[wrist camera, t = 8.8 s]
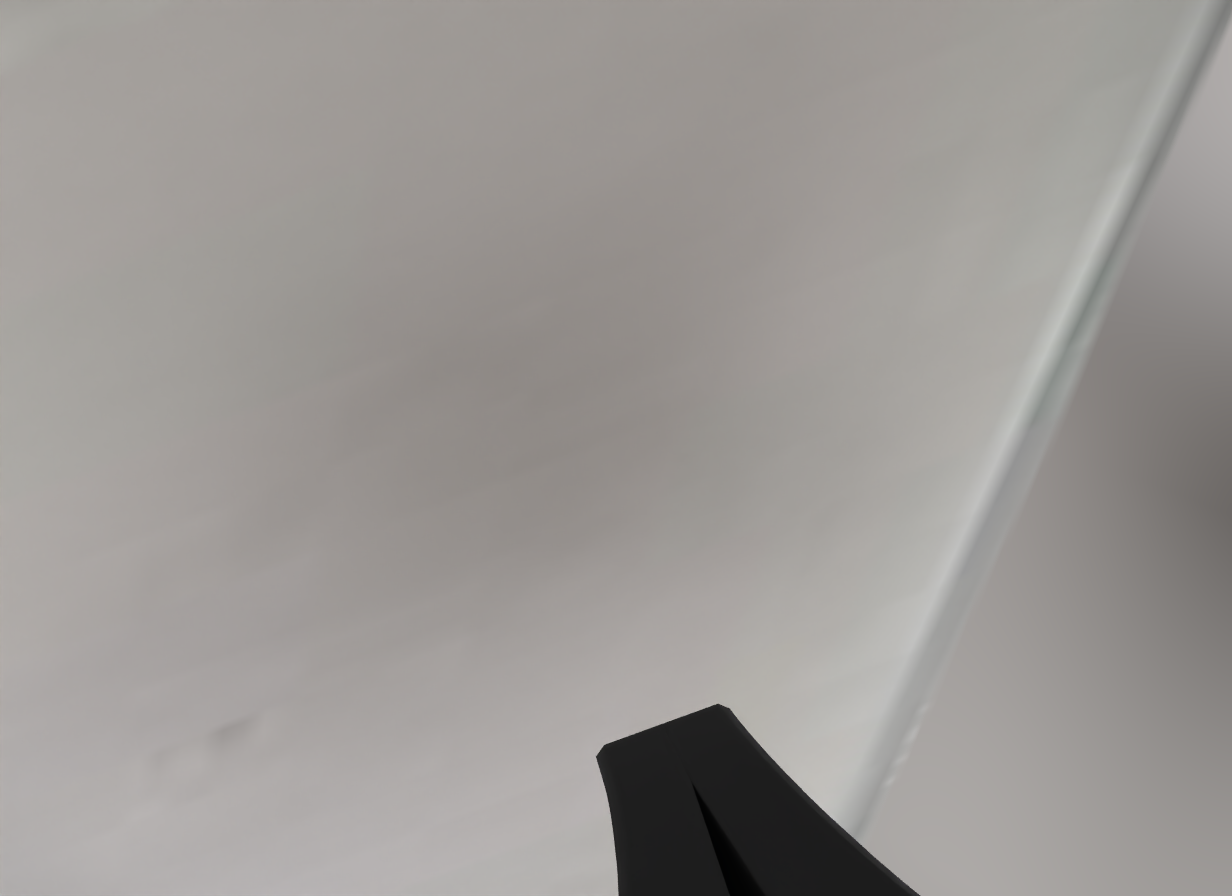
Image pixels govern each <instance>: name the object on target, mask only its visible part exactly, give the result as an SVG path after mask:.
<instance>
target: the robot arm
mask: <svg viewBox="0 0 1232 896" xmlns="http://www.w3.org/2000/svg"><path fill="white" fill-rule="evenodd" d="M596 758H597V762H598V765H599V768H600V772H601V775H602V778H603V782H604V785H605V788H606V793H607V797H608V802H609V807H610V813H611V819H612V826H613V833H614V843H615V852H616V861H617V871H618V891H619V896H920V895H919V894H917V893H916V892H915V891H914V890H913V889H911V888H910V887H909V886H908V885H906V884H905V883H904V882H903V881H902V880H900V879H899V878H898V877H897V876H896V875H894V874H893V873H892V872H891V871H890V870H889V869H888V868H886V867H885V866H884V865H883V864H881V863H880V862H879V861H878V860H877V859H876V858H874V857H873V856H872V855H871V854H870V853H869V852H868V851H867V850H866V849H865V848H864V847H863V846H862V845H860V844H859V843H858V842H857V841H856V840H855V839H854V838H853V837H852V836H851V835H849V834H848V833H847V832H846V831H845V830H844V829H843V828H842V827H841V826H840V825H838V824H837V823H836V822H835V821H834V820H833V819H832V818H831V817H830V816H829V815H828V814H826V813H825V812H824V811H823V810H822V809H821V808H820V807H819V806H818V805H817V804H816V803H815V802H814V801H813V800H812V799H811V798H810V797H809V796H808V795H807V794H806V793H805V792H804V791H803V790H802V789H801V788H800V787H799V786H798V785H797V784H796V783H795V782H794V781H793V780H792V779H791V778H790V777H789V776H788V775H787V774H786V773H785V772H784V771H783V770H782V769H781V768H780V767H779V765H778V764H777V763H776V762H775V761H774V760H773V759H772V758H771V757H770V756H769V755H768V754H767V753H766V751H765V750H764V749H763V748H762V747H761V746H760V745H759V744H758V742H757V741H756V740H755V739H754V738H753V737H752V736H751V734H750V733H749V732H748V731H747V730H746V728H745V727H744V726H743V725H742V724H741V722H740V721H739V720H738V719H737V717H736V716H735V715H734V714H733V712H732V711H731V710H730V708H727V707H725V706H722V705H720V704H716V705H713V706H710V707H708V708H705V709H702V710H699V711H697V712H694V713H691V714H688V715H686V716H683V717H680V718H677V719H675V720H672V721H669V722H666V723H664V724H661V725H658V726H655V727H653V728H650V729H647V730H644V731H642V732H639V733H636V734H633V735H631V736H628V737H625V738H622V739H619V740H617V741H614V742H611V743H608V744H606V745H604V746H603V748H602V749H601V750H600V752H599V753H598V755H597V756H596Z"/></svg>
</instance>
